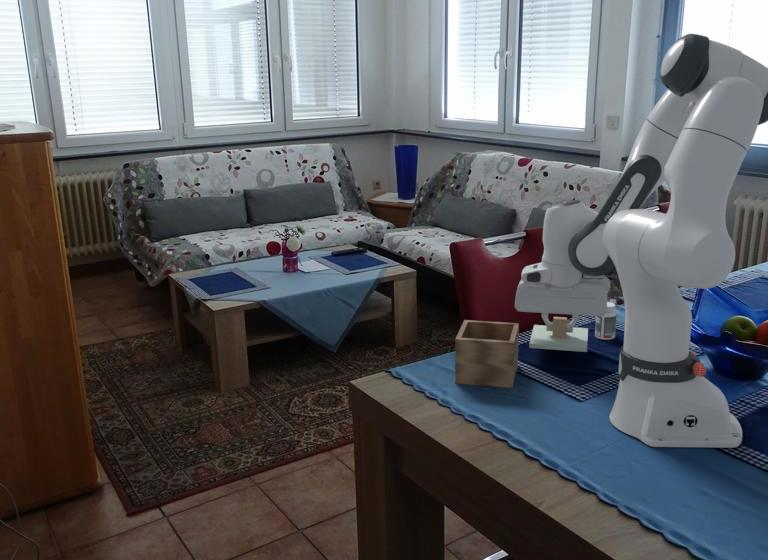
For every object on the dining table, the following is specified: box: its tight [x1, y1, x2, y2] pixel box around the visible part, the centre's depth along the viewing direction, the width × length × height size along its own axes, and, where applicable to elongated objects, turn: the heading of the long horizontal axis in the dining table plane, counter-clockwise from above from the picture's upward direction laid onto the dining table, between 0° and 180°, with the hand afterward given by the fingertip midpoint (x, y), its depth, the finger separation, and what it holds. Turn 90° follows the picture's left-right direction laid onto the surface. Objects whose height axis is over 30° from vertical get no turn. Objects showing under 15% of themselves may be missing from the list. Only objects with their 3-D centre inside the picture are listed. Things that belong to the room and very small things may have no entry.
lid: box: [528, 316, 589, 353], centre depth 166 cm, size 12×12×5 cm
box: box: [454, 319, 520, 389], centre depth 156 cm, size 12×12×10 cm
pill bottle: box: [594, 301, 617, 341], centre depth 176 cm, size 5×5×8 cm
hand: (559, 331), depth 166 cm, fingers closed on lid, 3 cm apart
